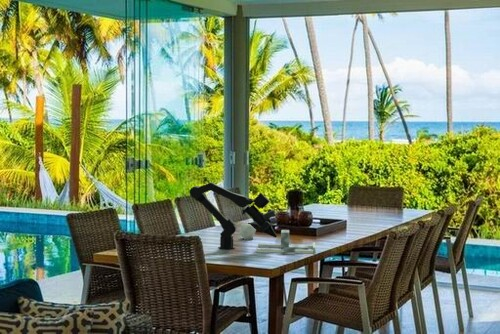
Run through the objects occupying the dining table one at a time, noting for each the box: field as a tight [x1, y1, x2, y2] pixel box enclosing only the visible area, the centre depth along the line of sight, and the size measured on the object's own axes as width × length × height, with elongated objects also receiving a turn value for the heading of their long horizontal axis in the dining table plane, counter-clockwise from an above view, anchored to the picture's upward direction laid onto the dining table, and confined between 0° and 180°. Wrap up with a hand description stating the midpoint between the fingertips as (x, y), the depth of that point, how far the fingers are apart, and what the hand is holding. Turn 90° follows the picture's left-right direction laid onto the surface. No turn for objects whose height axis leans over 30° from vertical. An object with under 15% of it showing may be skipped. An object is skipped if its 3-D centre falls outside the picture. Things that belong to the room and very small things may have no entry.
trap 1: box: [282, 252, 296, 256], centre depth 442 cm, size 6×6×1 cm
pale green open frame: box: [255, 242, 316, 254], centre depth 454 cm, size 30×18×3 cm, turn 86°
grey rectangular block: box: [280, 229, 309, 252], centre depth 454 cm, size 14×10×10 cm
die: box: [238, 223, 257, 240], centre depth 493 cm, size 8×9×10 cm
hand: (276, 236), depth 454 cm, fingers closed
